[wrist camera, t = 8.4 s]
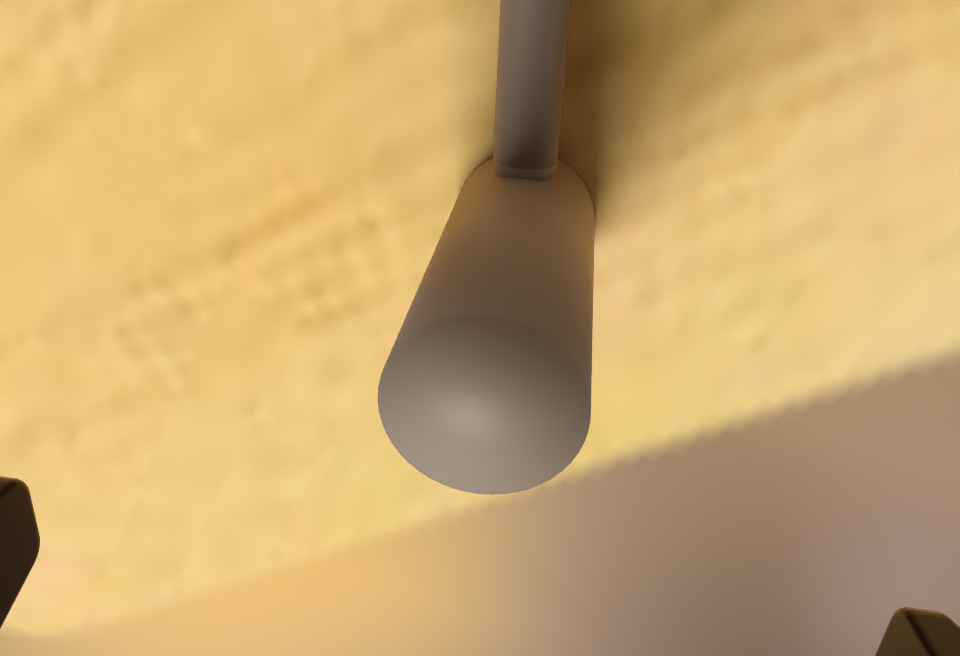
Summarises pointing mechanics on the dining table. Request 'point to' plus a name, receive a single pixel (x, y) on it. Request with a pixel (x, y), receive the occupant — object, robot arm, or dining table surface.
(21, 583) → the robot arm
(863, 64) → the dining table surface
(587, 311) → the grey block with handle
